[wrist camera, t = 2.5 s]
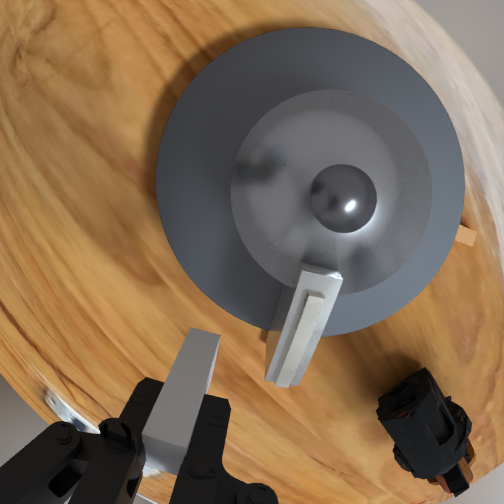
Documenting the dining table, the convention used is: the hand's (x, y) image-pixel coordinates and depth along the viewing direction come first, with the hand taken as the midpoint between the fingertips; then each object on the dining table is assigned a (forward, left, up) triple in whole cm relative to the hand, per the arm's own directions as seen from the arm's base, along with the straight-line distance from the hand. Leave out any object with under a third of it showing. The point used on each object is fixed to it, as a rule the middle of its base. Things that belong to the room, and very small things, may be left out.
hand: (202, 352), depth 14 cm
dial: (+2, +7, -5) cm, 9 cm away
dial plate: (+3, +9, -7) cm, 12 cm away
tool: (+26, -1, -7) cm, 28 cm away
